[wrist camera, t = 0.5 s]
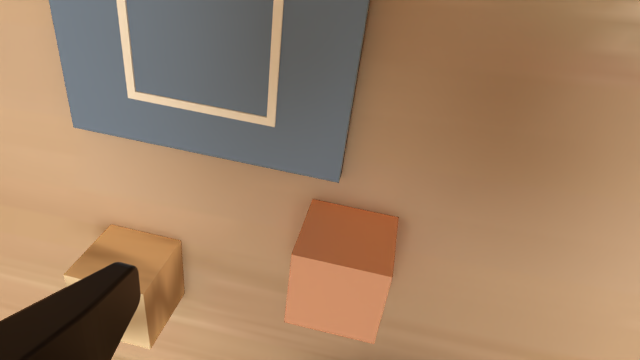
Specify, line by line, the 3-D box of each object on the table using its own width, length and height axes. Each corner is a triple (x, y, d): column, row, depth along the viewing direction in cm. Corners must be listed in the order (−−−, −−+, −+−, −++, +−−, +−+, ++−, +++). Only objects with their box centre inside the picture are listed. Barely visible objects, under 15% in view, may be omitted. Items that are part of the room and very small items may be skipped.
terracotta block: (382, 279, 26) (373, 344, 23) (304, 261, 27) (284, 322, 23) (398, 216, 24) (392, 277, 20) (313, 198, 24) (291, 254, 21)
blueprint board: (340, 176, 23) (338, 183, 23) (80, 122, 25) (72, 128, 24) (387, -105, 17) (385, -105, 16) (29, -156, 18) (16, -157, 18)
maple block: (185, 292, 30) (150, 349, 27) (120, 276, 31) (77, 330, 27) (181, 239, 28) (143, 294, 24) (111, 223, 28) (63, 274, 25)
